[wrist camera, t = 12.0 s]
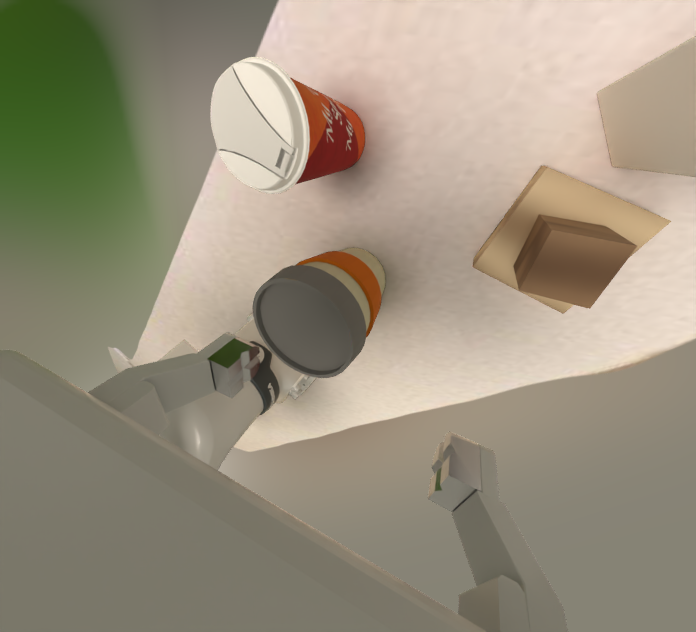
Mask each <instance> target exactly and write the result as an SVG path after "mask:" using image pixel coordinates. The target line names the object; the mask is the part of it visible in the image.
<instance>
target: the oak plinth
mask: <svg viewBox="0 0 696 632" xmlns="http://www.w3.org/2000/svg"><path fill="white" fill-rule="evenodd" d="M539 214H540V215H546V216H552V217H557V218H563V219H569V220H575V221H580V222H586V223H592V224H598V225H603V226H607V227H608V228H610V229H611V230H613V231H614V232H616V233H618V234H619V235H621V236H622V237H624V238H626V239H627V240H629V241H630V242H632V243H633V244H635V245H637V247H636V249H635V250H634V251H633V253H632V254H634V253H635V252H636V251H637V250H638V249H640V248H641V247H642V246H643V245H644V244H645V243H647V242H648V241H649V240H650V239H651V238H652V237H654V236H655V235H656V234H657V233H658V232H659V231H661V230H662V229H663V228H664V227H665V226H666V225H668V224H669V223H670V222H671V221H670V220H667V219H665V218H663V217H661V216H658V215H656V214H654V213H651V212H649V211H647V210H645V209H642V208H640V207H638V206H635V205H633V204H631V203H629V202H626V201H624V200H622V199H619V198H617V197H615V196H613V195H610V194H608V193H606V192H603V191H601V190H599V189H596V188H594V187H592V186H590V185H587V184H585V183H583V182H580V181H578V180H576V179H574V178H571V177H569V176H567V175H564V174H562V173H560V172H558V171H555V170H553V169H551V168H548V167H545V166H541V167H540V168H539V170H538V171H537V172H536V174H535V175H534V177H533V178H532V179H531V181H530V182H529V183H528V185H527V186H526V188H525V189H524V190H523V192H522V193H521V194H520V196H519V197H518V198H517V200H516V201H515V203H514V204H513V205H512V207H511V208H510V209H509V211H508V212H507V214H506V215H505V216H504V218H503V219H502V220H501V222H500V223H499V225H498V226H497V227H496V229H495V230H494V231H493V233H492V234H491V236H490V237H489V238H488V240H487V241H486V242H485V244H484V245H483V246H482V248H481V249H480V251H479V252H478V253H477V255H476V256H475V257H474V262H473V267H474V268H476V269H477V270H479V271H481V272H483V273H485V274H487V275H489V276H491V277H493V278H495V279H497V280H499V281H501V282H503V283H505V284H507V285H508V286H510V287H512V288H514V289H516V290H518V291H519V289H518V284H517V280H516V275H515V271H514V267H513V265H514V263H515V261H516V259H517V257H518V255H519V253H520V251H521V249H522V247H523V245H524V243H525V241H526V239H527V237H528V235H529V233H530V231H531V229H532V227H533V225H534V223H535V221H536V219H537V217H538V215H539ZM632 254H631V255H632ZM631 255H630V256H631ZM630 256H629V257H630ZM520 292H522V293H524V294H526V295H528V296H530V297H532V298H534V299H536V300H538V301H539V302H541V303H543V304H545V305H547V306H549V307H551V308H553V309H555V310H557V311H559V312H561V313H565V312H566V311H567V310H568V309H569V308H571V307H572V306H573V305H574V304H570V303H566V302H562V301H558V300H554V299H550V298H546V297H542V296H539V295H535V294H531V293H527V292H523V291H520Z"/></svg>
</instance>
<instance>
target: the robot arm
mask: <svg viewBox="0 0 696 632" xmlns="http://www.w3.org/2000/svg"><path fill="white" fill-rule="evenodd" d="M247 321H248V323H247V324H246V325H245V326H244V327H242V328H241V329H240V330H239V331H238V332H237V333H236V334H234V335H233V334H231V333H226V334H224V335H222V336H221V337H219V338H218V339H217V340H215V341H214V342H212V343H211V344H210V345H208V346H207V347H205V348H204V349H203V350H201V351H200V352H198V353H197V354H195V353H190V354H186V355H182V356H178V357H174V358H170V359H165V360H161V361H157V362H153V363H149V364H144V365H140V366H136V367H132V368H128V369H125V370H124V371H122V372H120V373H119V374H117V375H115V376H114V377H112V378H110V379H109V380H107V381H106V382H104V383H102V384H101V385H99V386H97V387H96V388H94V389H93V390H91V391H89V392H88V393H87V392H85V391H84V390H82V389H80V388H79V387H77V386H75V385H74V384H72V383H70V382H69V381H67V380H65V379H64V378H62V377H60V376H59V375H57V374H55V373H53V372H52V371H50V370H49V369H47V368H45V367H43V366H42V365H40V364H38V363H37V362H35V361H33V360H32V359H30V358H29V357H27V356H25V355H24V354H22V353H20V352H17V351H14V350H0V632H568V628H567V624H566V619H565V614H564V609H563V606H562V604H561V602H560V600H559V599H558V597H557V595H556V593H555V592H554V590H553V588H552V586H551V585H550V583H549V581H548V580H547V578H546V576H545V574H544V572H543V570H542V569H541V567H540V565H539V563H538V562H537V560H536V558H535V556H534V555H533V553H532V551H531V549H530V548H529V546H528V544H527V543H526V541H525V539H524V537H523V535H522V534H521V532H520V530H519V528H518V527H517V525H516V523H515V521H514V520H513V518H512V516H511V514H510V513H509V511H508V509H507V507H506V506H505V504H504V503H502V502H500V500H499V490H498V479H497V469H496V468H497V467H496V457H495V453H494V451H493V450H491V449H488V448H486V447H484V446H482V445H479V444H477V443H476V442H473V441H471V440H468V439H466V438H464V437H462V436H459V435H457V434H455V433H452V432H450V431H449V432H448V433H447V434H446V435H445V438H444V442H441V443H440V444H439V445H438V447H437V448H436V451H435V454H434V457H433V462H432V469H433V471H434V476H433V477H432V478H431V479H430V486H429V494H428V499H429V500H431V501H432V502H434V503H436V504H438V505H440V506H442V507H443V508H445V509H447V510H449V511H451V512H453V513H452V516H453V519H454V522H455V525H456V528H457V530H458V533H459V536H460V539H461V542H462V545H463V548H464V551H465V554H466V557H467V559H468V562H469V565H470V568H471V571H472V574H473V577H474V580H475V583H476V587H474V588H472V589H469V590H467V591H465V592H463V593H461V594H460V595H459V609H458V614H457V613H455V612H454V611H452V610H450V609H448V608H447V607H445V606H444V605H442V604H440V603H439V602H436V601H435V600H433V599H432V598H430V597H429V596H427V595H425V594H424V593H422V592H420V591H418V590H417V589H415V588H413V587H412V586H410V585H408V584H407V583H405V582H403V581H402V580H400V579H398V578H397V577H395V576H393V575H392V574H390V573H388V572H387V571H385V570H383V569H382V568H380V567H378V566H377V565H375V564H373V563H372V562H370V561H368V560H367V559H365V558H363V557H362V556H360V555H358V554H357V553H355V552H353V551H352V550H350V549H348V548H347V547H345V546H343V545H341V544H340V543H338V542H336V541H335V540H333V539H331V538H330V537H328V536H326V535H325V534H323V533H321V532H320V531H318V530H316V529H315V528H313V527H311V526H310V525H308V524H306V523H305V522H303V521H301V520H300V519H298V518H296V517H295V516H293V515H291V514H290V513H288V512H286V511H285V510H283V509H281V508H280V507H278V506H276V505H274V504H273V503H271V502H269V501H268V500H266V499H264V498H263V497H261V496H260V495H258V494H256V493H255V492H253V491H251V490H249V489H248V488H246V487H244V486H243V485H241V484H239V483H238V482H236V481H234V480H233V479H231V478H229V477H228V476H226V475H224V474H222V473H221V472H219V471H218V469H219V468H220V466H221V464H222V462H223V461H224V459H225V457H226V456H227V454H228V453H229V451H230V450H231V448H233V446H234V445H235V444H236V442H237V441H238V440H239V439H240V437H241V436H242V435H243V434H244V432H245V431H246V430H247V429H248V428H249V426H250V425H251V424H252V423H253V422H254V420H255V419H256V418H257V417H258V416H259V415H262V414H263V413H265V412H266V411H267V410H269V409H270V408H271V407H272V405H273V404H274V403H282V402H283V401H284V400H285V399H286V398H287V397H288V395H291V396H292V398H294V399H296V398H297V397H298V396H299V395H301V394H302V393H303V392H304V391H305V390H306V389H307V388H308V387H309V386H310V385H311V383H312V382H313V381H314V380H315V379H316V378H317V377H311V376H308V375H305V374H302V373H300V372H298V371H296V370H294V369H292V368H290V367H289V366H287V365H286V364H285V363H283V362H282V361H281V360H280V359H278V358H277V357H276V356H275V355H274V354H273V353H272V352H271V350H270V349H269V348H268V347H267V345H266V344H265V343H264V341H263V339H262V338H261V336H260V334H259V332H258V329H257V327H256V324H255V321H254V317H253V313H252V314H250V315H249V316H248V318H247ZM159 434H160V435H159Z"/></svg>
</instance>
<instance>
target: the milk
mask: <svg viewBox="0 0 696 632" xmlns="http://www.w3.org/2000/svg"><path fill="white" fill-rule="evenodd" d="M597 96H598V101H599V106H600V111H601V116H602V120H603V125H604V130H605V135H606V140H607V144H608V149H609V154H610V159H611V164H612V166H613V167H619V168H628V169H636V170H644V171H652V172H660V173H668V174H676V175H684V176H692V177H696V36H694V37H693V38H691V39H689V40H687V41H686V42H684V43H682V44H680V45H679V46H677V47H675V48H674V49H672V50H670V51H668V52H667V53H665V54H663V55H661V56H660V57H658V58H656V59H654V60H653V61H651V62H649V63H647V64H646V65H644V66H642V67H640V68H639V69H637V70H635V71H633V72H632V73H630V74H628V75H626V76H625V77H623V78H621V79H619V80H618V81H616V82H614V83H612V84H611V85H609V86H607V87H605V88H604V89H602V90H600V91H599V92H598V93H597Z"/></svg>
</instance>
